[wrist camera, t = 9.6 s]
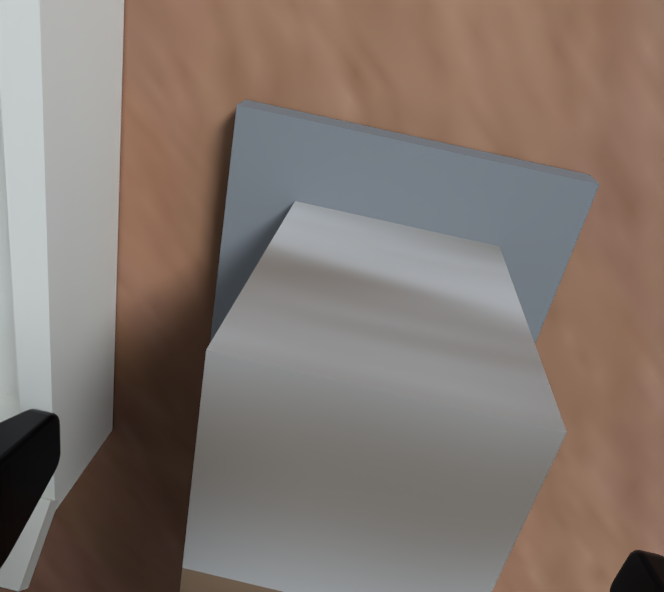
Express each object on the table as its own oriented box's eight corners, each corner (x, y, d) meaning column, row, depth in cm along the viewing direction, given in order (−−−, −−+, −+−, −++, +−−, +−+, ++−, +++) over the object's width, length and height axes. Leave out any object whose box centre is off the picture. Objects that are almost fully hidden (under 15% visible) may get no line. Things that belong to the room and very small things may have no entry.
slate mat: (434, 568, 15) (434, 590, 14) (196, 512, 15) (188, 531, 14) (589, 174, 10) (599, 184, 10) (245, 99, 10) (236, 105, 10)
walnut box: (399, 536, 13) (393, 799, 9) (244, 500, 14) (163, 743, 9) (499, 246, 10) (567, 432, 6) (294, 200, 10) (205, 349, 6)
